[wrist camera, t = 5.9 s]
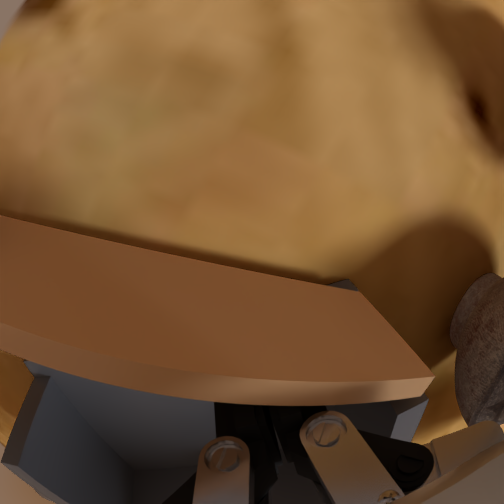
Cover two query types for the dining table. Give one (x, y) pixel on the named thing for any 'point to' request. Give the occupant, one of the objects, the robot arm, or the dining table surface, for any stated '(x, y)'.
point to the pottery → (480, 351)
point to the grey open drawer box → (146, 439)
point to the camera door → (193, 325)
